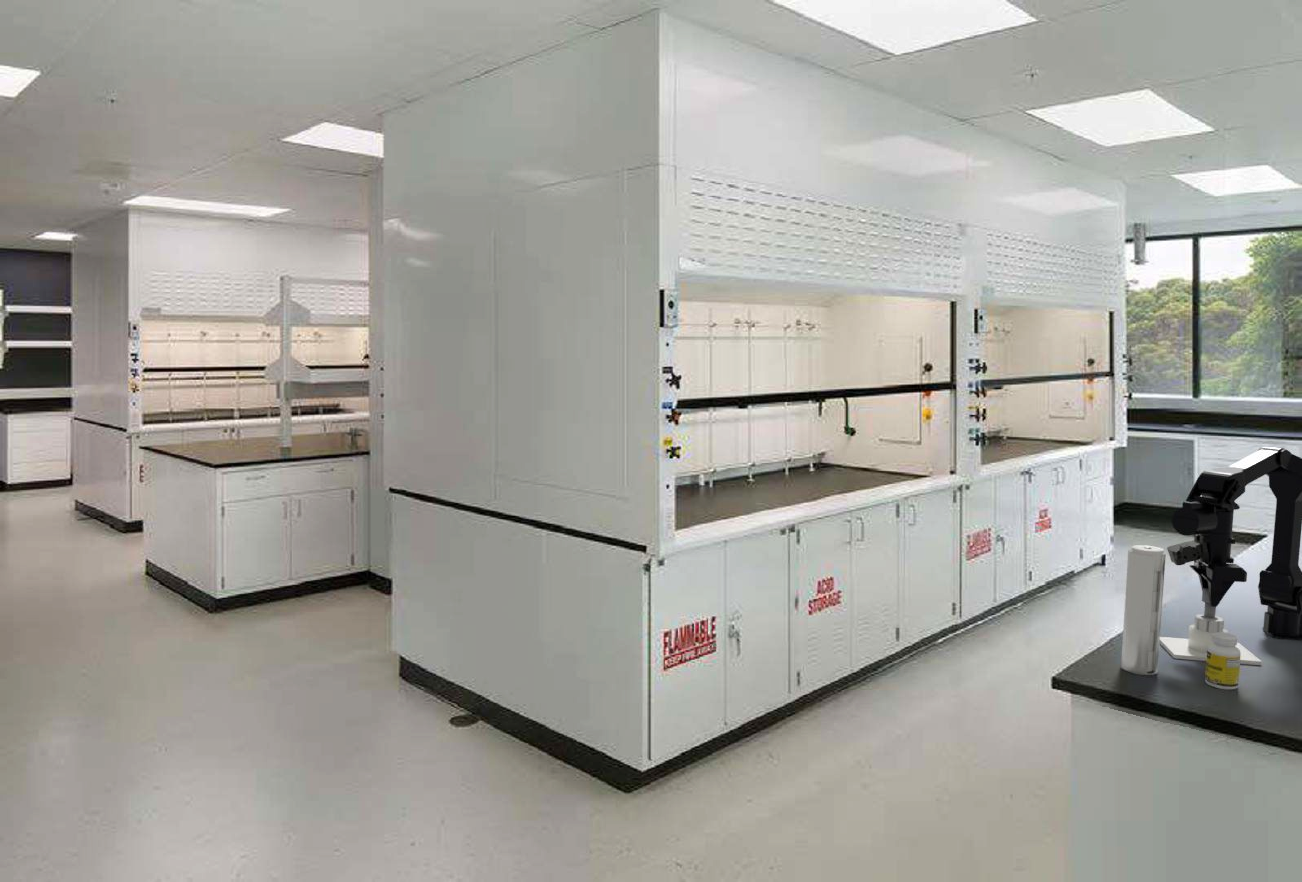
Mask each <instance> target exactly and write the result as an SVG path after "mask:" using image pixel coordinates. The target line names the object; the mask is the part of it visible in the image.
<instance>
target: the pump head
mask: <svg viewBox="0 0 1302 882" xmlns="http://www.w3.org/2000/svg"><path fill="white" fill-rule="evenodd" d="M1201 592H1202V593H1201V602H1203V603H1204V609H1203V610H1204V612H1203V614H1204V617H1206V618H1215V616H1216V612H1217V611H1216V610H1217V609H1216V608H1217V607H1212V606H1211V605H1210V597H1209V588H1203V590H1202V589H1201Z"/></svg>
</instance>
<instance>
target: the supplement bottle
mask: <svg viewBox="0 0 1302 882" xmlns="http://www.w3.org/2000/svg"><path fill="white" fill-rule="evenodd" d="M1212 641H1213V643H1212V644H1210V645H1209V646H1208V648H1207V659H1206V661H1205V663H1206V664H1205V674H1204V675H1205V676H1204V677H1205V678H1204V681H1205V683H1206V685H1209V687H1210V686H1211V687H1213V688H1216V689H1220V690H1227V691H1228V690H1236V689H1238V687H1239V682H1240V680H1239V679H1240V666H1241V664H1240V656H1241V652H1240V650H1239V649H1238V648H1237V647H1235V646H1236V645H1237V643H1238V637H1237V635H1234V634H1231V633H1229V632H1228V633H1221V632H1216V633H1213V635H1212Z"/></svg>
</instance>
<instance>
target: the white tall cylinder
mask: <svg viewBox="0 0 1302 882" xmlns="http://www.w3.org/2000/svg"><path fill="white" fill-rule="evenodd" d="M1127 551H1128V552H1127V561H1126V562H1127V563H1126V565H1127V566H1126V578H1125V597H1124V610H1123V611H1124V612H1123V630H1122V641H1121V642H1122V645H1121V659H1120V660H1121V661H1120V666H1121V667H1120V668H1121V669H1122V670H1124V671H1125V672H1128V673H1131V674H1135V675H1140V676H1155V675H1156V674H1158V672H1159V659H1160V645H1161V644H1160V637H1161V628H1162V627H1161V626H1162V613H1163V599H1164V585H1165V584H1164V583H1165V570H1166V569H1165V567H1166V553H1165V549H1164V548H1162V547H1158V546H1153V545H1145V544H1137V545H1132V546H1131V548H1130V549H1128V550H1127Z"/></svg>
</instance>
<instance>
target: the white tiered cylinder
mask: <svg viewBox="0 0 1302 882" xmlns="http://www.w3.org/2000/svg"><path fill="white" fill-rule="evenodd" d="M1224 624H1225V619H1224V618H1223V617H1220V616H1218V615H1215V618H1206V617H1204V613H1203V614H1202V613H1201V614H1195V615H1194V624H1190V625H1189V627H1188V638H1187V639H1188V647H1189V648H1191V649H1193V650H1195V651H1199V652H1203V653H1207V648H1208V646H1209V645H1210V644H1212V643H1213V641H1212V635H1213V633H1216V632H1221V633H1228V634H1229V631H1228V630H1227V629H1225V628H1224V627H1225V626H1224Z"/></svg>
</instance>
